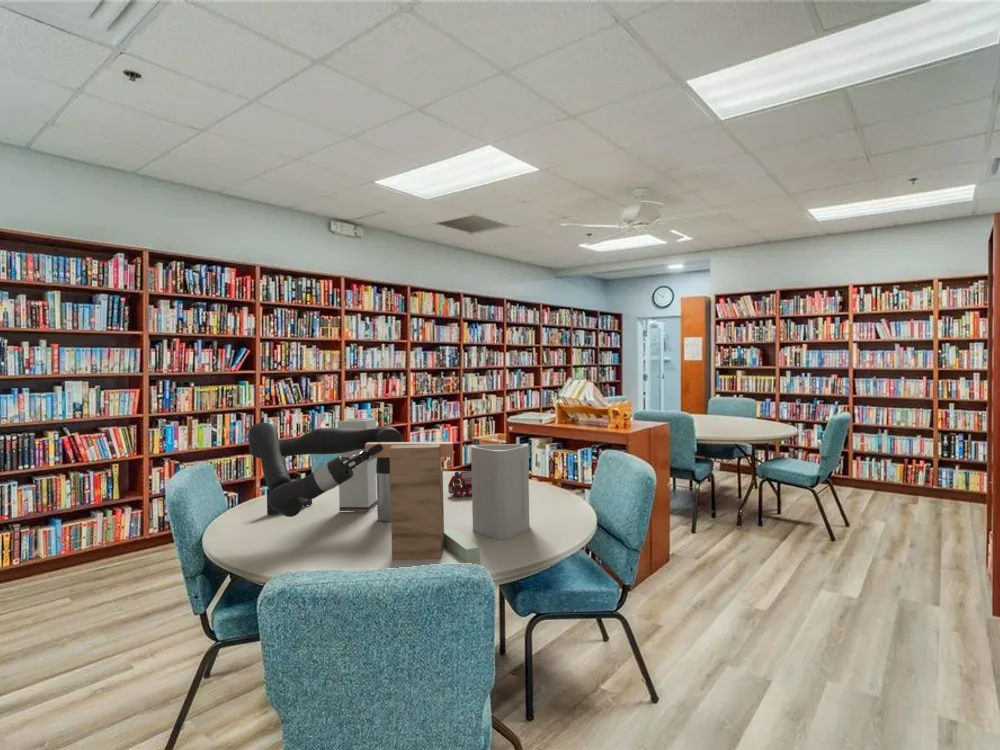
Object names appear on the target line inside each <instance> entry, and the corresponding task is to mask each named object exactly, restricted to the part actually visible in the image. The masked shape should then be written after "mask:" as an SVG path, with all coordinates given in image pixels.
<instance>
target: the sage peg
mask: <svg viewBox="0 0 1000 750" xmlns="http://www.w3.org/2000/svg"><path fill="white" fill-rule="evenodd" d="M444 547H446V548H448V549H449V550H450V551H451V552H453V553H454V554H455V555H457V556H458V557H459V558H460V559H461V560H463V561H464V562H465V563H467V562H468V563H472V562H477V561H481V559H480V558H481V555H480V554H481V553H480V551H481V549H480V546H479V545H477V544H476V543H474V542H473V541H472V540H470V539H469V538H467V537H465V536H464V535H463V534H461V533H460V532H459V531H457V530H455V528H449V529H444Z"/></svg>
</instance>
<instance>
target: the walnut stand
mask: <svg viewBox="0 0 1000 750" xmlns="http://www.w3.org/2000/svg"><path fill="white" fill-rule="evenodd" d="M441 459H442V457H441V444H425V445H393V446H392V447H390V490H391V521H390V523H391V524H390V526H391V528H390V531H391V532H390V533H391V560H393V561H394V560H395V561H399V560H402V561H403V560H404V561H405V560H431V559H432V560H435V559H437V560H438V559H442V556H443V552H444V548H445V545H444V530H445V518H444V516H445V512H444V510H445V509H444V469H443V468H444V467H442V460H441Z"/></svg>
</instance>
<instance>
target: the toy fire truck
mask: <svg viewBox="0 0 1000 750" xmlns="http://www.w3.org/2000/svg"><path fill="white" fill-rule="evenodd" d="M447 486H448V489H447V491H448V493H449V494H450V495H452V494H453V495H454V497H456V498H462V496H464V493H465V495H467V497H469V496H471V497H472V470H467V471H461V472H459V471H455V472H454V475H451V478H450V480H449V483H448V485H447Z"/></svg>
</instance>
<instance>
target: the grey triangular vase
mask: <svg viewBox="0 0 1000 750" xmlns="http://www.w3.org/2000/svg"><path fill="white" fill-rule="evenodd" d="M470 449H471V452H470V454H471V456H470V457H471V461H470V462H471V471H472V496H471V497H472V498H471V503H472V505H471V506H472V507H471V508H472V510H471V511H472V531H474V532H476V533H479V534H482V535H484V536H487V537H489V538H493V539H496V540H509V539H510V538H512V537H515V536H518V535H519V534H521V533H524V532H526V531H528V530H530V491H529V490H530V488H529V487H530V484H529V483H530V482H529V481H530V480H529V478H530V476H529V445H528V443H511V444H510V443H507V444H503V443H502V444H500V443H499V444H498V443H497V444H472V445H471V446H470Z"/></svg>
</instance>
